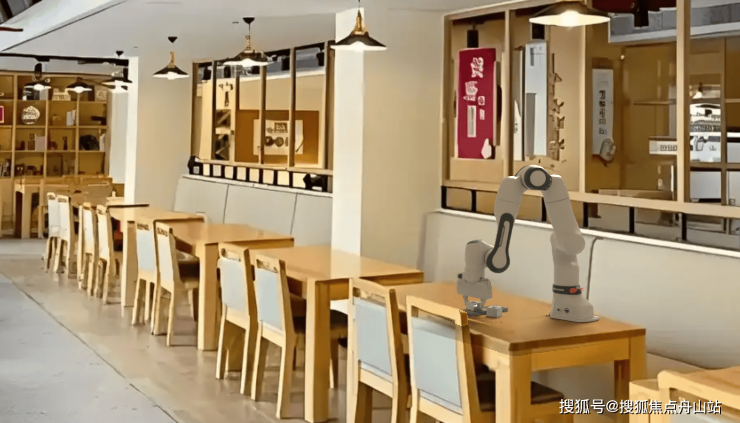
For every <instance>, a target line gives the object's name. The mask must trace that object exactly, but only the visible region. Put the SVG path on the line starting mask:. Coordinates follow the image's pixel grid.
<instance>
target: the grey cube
mask: <svg viewBox="0 0 740 423" xmlns="http://www.w3.org/2000/svg"><path fill="white" fill-rule="evenodd" d="M468 301H469V300H468ZM480 303H481V301H477V300H471V301H469V302H466V305H465V309H466V310H468V311H472V312H477V311H482V309H479V305H480Z"/></svg>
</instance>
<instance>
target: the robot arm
mask: <svg viewBox="0 0 740 423" xmlns="http://www.w3.org/2000/svg"><path fill="white" fill-rule="evenodd" d="M528 190H529V191H540V193H541V194H542V197H543V201H544V206H545V209H546V213H547V217H548V221H549V223H550V224H551V227H552V229H553V231H552V232H551V234H550V236H549V240H550V245H551V253H552V262H553V283H552V290H551V291H552V299H551V300H552V301H551V307H550V312H549V314H548V315H549V318H551V319H558V320H563V321H569V322H570V321H571V322H575V323H588V322H589V323H590V322H595V321H599V320H600V317H599V316H598V315H595V311H594V306H593V304H592V303H591V302H590V301H589V300H588V299H587V298H586V297H585V296H584V295H583V290H584V289H585V288H584V287H581V286H580V266H579V262H578V257H577V255H579V254H580V253H582V252H583V251H584V249H585V248H586V240H585V238H584V236H583V233H582V231H581V229H580V226H579V223H578V221H577V219H576V217H575V214H574V210H573V206H572V202H571V199H570V195H569V190H568V188H567V185H566V182H565V181H564V178H563V177H562V176H560V175H558V174H550V172H548V171H547V170H546V169H545V168H544V167H542V166H540V165H535V164H529V165H525V166H522V167H521V168H520V169H519V170H518V171H517V172H516V173H515V174H514V176H513V175H511V176H509V175H508V176H505V177H503V179H502V180H501V182H500V184H499V187H498V190H497V193H496V196H495V200H494V206H493V215H494V218H495V221H496V226H497V229H496V230H497V231H496V234H495V240H494V244H493V245H491V244H490V243H487V242H485V241H484V240H483V239H473V240H470V241H468V242H467V243H466V244H465V249H464V263H465V267H464V271H462V272H459V273H457V274H456V278H457V280H456V293H457V294H458V295H461V296H462V299H463V301H464V306H466V302H469V298H470V297H471V298H475V299H479V302H481V303H480V305H479V309H484V307H485V303H486V301H489V300H492V299H493V289H492V288H493V287H492V282H491V280H490V279H489V278H486V277H485V276H486V275H485V274H486V273H485V270H486V268H488V270H489V271H490V272H492V273H493V274H494V273H495V274H502V273H504V272H506V271H507V270H508V269H509V267H510V265H511V259H510V252H509V251H510V250H509V249H510V244H511V238H512V234H513V233H512V232H513V228H514V225H515V222H516V219H517V217H518V214H519V210H520V206H521V203H522V198H523V196H524V194H525V192H527V191H528Z"/></svg>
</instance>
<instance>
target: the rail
mask: <svg viewBox="0 0 740 423" xmlns="http://www.w3.org/2000/svg"><path fill="white" fill-rule="evenodd" d="M489 306H490V305H487V306H485V305H484V309H482V311H477V312H472V311H468V310H466V308H465V309H464V308H463V309H460V310H463V311H465V312H467V314H468V315H467V316H469V317H475V316H481V315H482V316H483V315H487V307H489ZM491 306H499V307H502V313H503V312H508V311H509V307H507V306H503V305H498V304H494V305H491Z"/></svg>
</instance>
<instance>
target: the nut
mask: <svg viewBox="0 0 740 423" xmlns="http://www.w3.org/2000/svg"><path fill="white" fill-rule="evenodd" d="M488 306H489V307H487V314H486V317H491V318H499V317H502V316H503V312H502V307H499V306H500V305H498V306H492V305H488Z"/></svg>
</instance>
